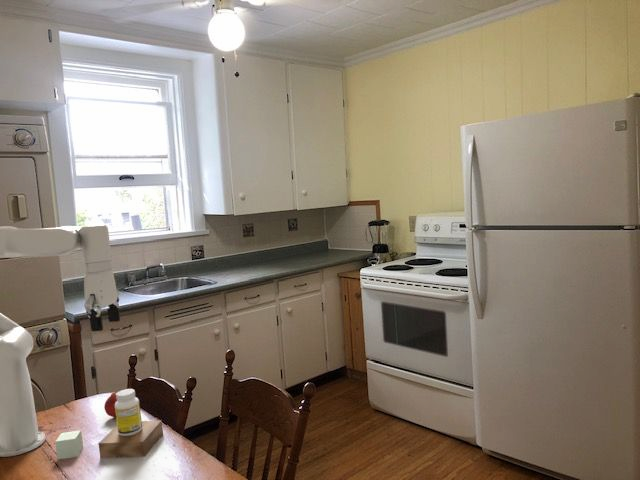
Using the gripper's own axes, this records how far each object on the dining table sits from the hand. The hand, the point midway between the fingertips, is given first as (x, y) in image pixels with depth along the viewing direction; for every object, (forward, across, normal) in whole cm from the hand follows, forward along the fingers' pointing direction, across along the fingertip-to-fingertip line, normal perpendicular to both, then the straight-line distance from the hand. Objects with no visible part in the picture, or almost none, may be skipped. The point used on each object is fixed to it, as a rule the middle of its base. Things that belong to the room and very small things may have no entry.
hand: (106, 325), depth 149 cm
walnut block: (+30, +12, +10) cm, 34 cm away
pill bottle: (+26, +12, +10) cm, 31 cm away
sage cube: (+30, +15, -6) cm, 34 cm away
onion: (+31, -6, -4) cm, 31 cm away
